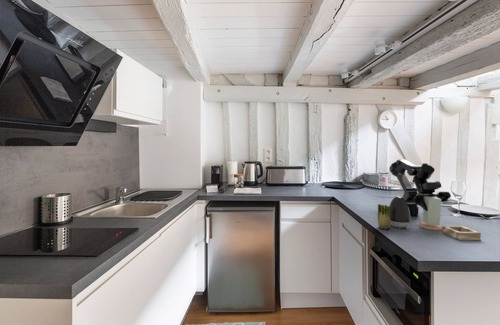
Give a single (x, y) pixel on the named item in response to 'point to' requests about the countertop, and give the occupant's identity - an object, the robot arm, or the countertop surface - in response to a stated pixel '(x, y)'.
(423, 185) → the robot arm
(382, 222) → the green drip glaze vase
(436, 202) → the square plug
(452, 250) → the countertop surface
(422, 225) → the pad
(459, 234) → the square socket
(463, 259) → the countertop surface
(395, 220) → the grey smart speaker
